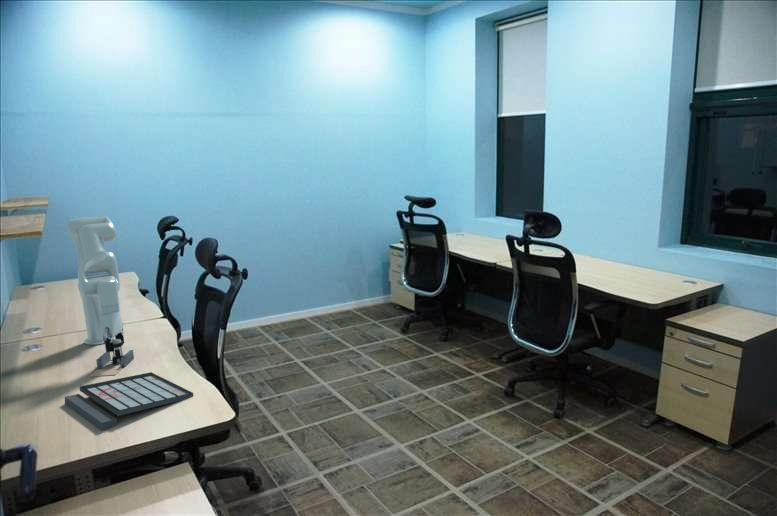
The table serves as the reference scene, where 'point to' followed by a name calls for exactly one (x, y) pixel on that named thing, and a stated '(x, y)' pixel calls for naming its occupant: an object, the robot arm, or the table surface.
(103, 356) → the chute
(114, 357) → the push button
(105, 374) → the mat
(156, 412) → the table surface
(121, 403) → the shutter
